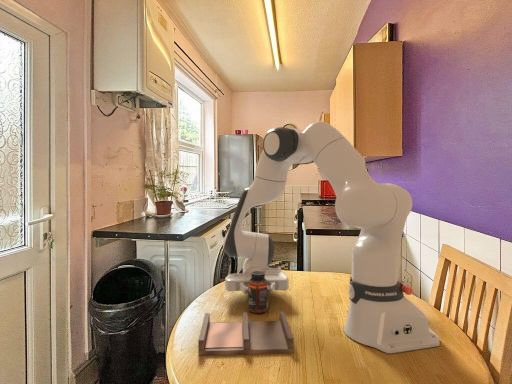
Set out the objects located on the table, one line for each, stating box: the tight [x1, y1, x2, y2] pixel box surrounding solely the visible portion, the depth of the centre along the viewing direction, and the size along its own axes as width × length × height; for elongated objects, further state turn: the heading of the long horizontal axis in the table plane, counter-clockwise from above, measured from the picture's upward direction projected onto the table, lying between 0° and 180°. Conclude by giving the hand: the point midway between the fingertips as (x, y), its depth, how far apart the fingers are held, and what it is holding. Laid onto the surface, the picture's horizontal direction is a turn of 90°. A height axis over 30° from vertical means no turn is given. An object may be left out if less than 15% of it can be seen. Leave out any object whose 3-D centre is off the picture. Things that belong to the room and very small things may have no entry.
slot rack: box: [197, 311, 294, 356], centre depth 77 cm, size 22×14×4 cm, turn 93°
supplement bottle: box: [247, 271, 269, 314], centre depth 93 cm, size 6×6×11 cm
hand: (258, 291), depth 92 cm, fingers closed on supplement bottle, 6 cm apart
